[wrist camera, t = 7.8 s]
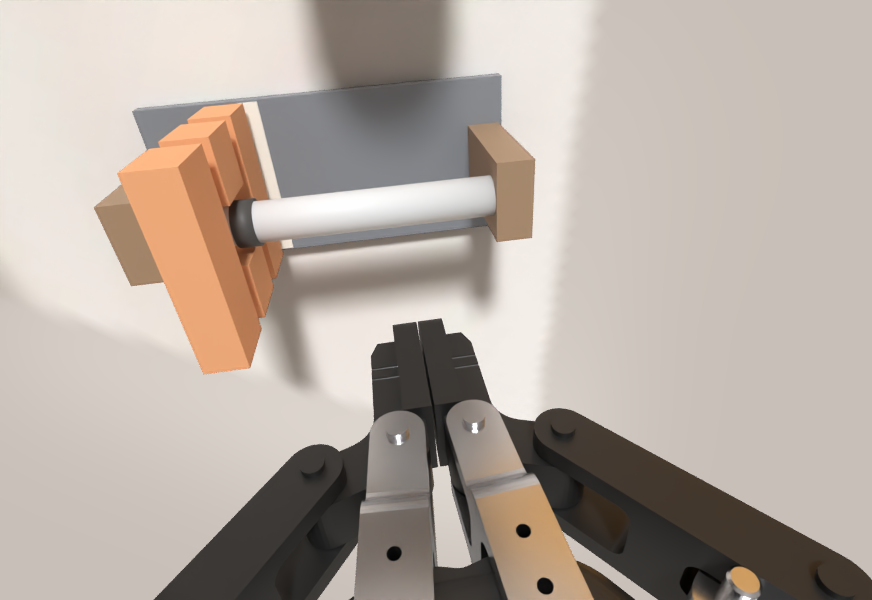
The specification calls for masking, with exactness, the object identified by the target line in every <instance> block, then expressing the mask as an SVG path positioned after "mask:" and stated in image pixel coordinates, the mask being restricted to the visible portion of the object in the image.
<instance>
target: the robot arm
mask: <svg viewBox="0 0 872 600" xmlns="http://www.w3.org/2000/svg"><path fill="white" fill-rule="evenodd" d="M418 328H419V334H418V329H417V324H416V322H412V323H405V324H398V325H393V332H394V341H395V342H389V343H382V344H377V346H376V348H375V350H374V352H373V353H372V355H371V366H372V386H373V407H374V424H373V425H372V428H371V430H370V432H369V434H368V435H367V436H366V437H365V438H364V439H363V440H361V441H360V442H358V443H357V444H355V445H353V446H351V447H349V448H347V449H344V450H342V451H340V452H339V451H338V450H337V449H335V448H333V447H332V446H329V445H324V444H323V445H322V444H318V445H312V446H308V447H306V448H304V449H302V450H300V451H298V452H297V453H295V454H294V455H293V456H292V457H291V458H290V459H289V460H288V461H287V462H286V463H285V464H284V465H283V466H282V467H281V468H280V469H279V471H278V472H277V473H276V474H275V475H274V476H273V477H272V478H271V479H270V480H269V481H268V482H267V483H266V484H265V485H264V486H263V487H262V488H261V489H260V490H259V491H258V492H257V493H256V494H255V495H254V496H253V498H252V499H251V500H250V501H249V502H248V503H247V504H246V505H245V506H244V507H243V508H242V509H241V510H240V511H239V512H238V513H237V514H236V515H235V516H234V517H233V518H232V519H231V521H229V522H228V523H227V524H226V525H225V526H224V527H223V529H222V530H221V531H220V532H219V533H218V534H217V535H216V536H215V537H214V538H213V539H212V540H211V541H210V542H209V543H208V544H207V545H206V546H205V547H204V548H203V549H202V550H201V551H200V552H199V553H198V554H197V555H196V557H195V558H194V559H193V560H192V561H191V562H190V563H189V564H188V565H187V566H186V567H185V568H184V569H183V570H182V571H181V572H180V573H179V574H178V575H177V576H176V577H175V578H174V579H173V581H171V582H170V583H169V584H168V586H167V587H166V588H165V589H164V590H163V591H162V592H161V593H160V594H159V595H158V596H157V597H156V598H155V599H154V600H317V599H318V598H319V596H320V595H321V594H322V592H323V591H324V590H325V588H326V587H327V585H328V584H329V582H330V581H331V580H332V578H333V577H334V576H335V574H336V573H337V571H338V570H339V568H340V567H341V566H342V564H343V563H344V562H345V560H346V558H347V557H348V556H349V555H350V553H351V552H352V550H353V549H354V548H355V546H356V544H357V543H358V548H357V563H356V577H355V591H354V597H352V598H351V599H350V600H635V599H634V598H632V597H631V596H630V595H628V594H627V593H626V592H624V591H623V590H622V589H621V588H620V587H618V586H617V585H616V584H614V583H613V582H612V581H611V580H609V579H608V578H607V577H605V576H604V575H603V574H601V573H599V572H598V571H596V570H595V569H593V568H591V567H590V566H587V565H585V564H583V563H581V562H579V561H576V560H575V558H574V556H573V554H572V551H571V550H570V547H569V545H568V543H567V541H566V539H565V537H564V534H563V532H564V533H566V534H567V535H569V536H570V537H572V538H573V539H574V540H576V541H577V542H578V543H580V544H581V545H583V546H584V547H585V548H587V549H588V550H589V551H591V552H592V553H594V554H595V555H596V556H598V557H599V558H601V559H602V560H603V561H605V562H606V563H608V564H609V565H610V566H612V567H613V568H615V569H616V570H617V571H619V572H620V573H622V574H623V575H625V576H626V577H627V578H629V579H630V580H631V581H633V582H634V583H636V584H637V585H638V586H640V587H641V588H643V589H644V590H645V591H647V592H648V593H650V594H651V595H652V596H654V597H655V598H657V599H658V600H872V580H871V578H870V577H869V576H868V575H867V574H866V573H865V572H864V571H863V570H862V569H861V568H859V567H858V566H857V565H856V564H854V563H853V562H852V561H850V560H849V559H847V558H845V557H844V556H842V555H840V554H838V553H836V552H835V551H832V550H831V549H829V548H827V547H825V546H823V545H821V544H820V543H818V542H816V541H814V540H812V539H810V538H808V537H807V536H805V535H803V534H801V533H799V532H797V531H795V530H794V529H792V528H790V527H788V526H786V525H784V524H783V523H781V522H779V521H777V520H775V519H773V518H771V517H769V516H767V515H766V514H764V513H762V512H760V511H758V510H756V509H755V508H753V507H751V506H749V505H747V504H745V503H744V502H742V501H740V500H738V499H736V498H734V497H733V496H731V495H729V494H727V493H725V492H723V491H721V490H720V489H718V488H716V487H714V486H712V485H710V484H708V483H706V482H705V481H703V480H701V479H699V478H697V477H695V476H694V475H692V474H690V473H688V472H686V471H684V470H682V469H680V468H679V467H676V466H675V465H673V464H671V463H669V462H668V461H666V460H664V459H662V458H660V457H658V456H656V455H655V454H653V453H651V452H649V451H647V450H645V449H643V448H642V447H640V446H638V445H636V444H634V443H632V442H630V441H628V440H627V439H625V438H623V437H621V436H619V435H617V434H616V433H614V432H612V431H610V430H608V429H606V428H604V427H602V426H601V425H599V424H597V423H595V422H593V421H591V420H589V419H588V418H586V417H584V416H582V415H580V414H578V413H576V412H574V411H572V410H568V409H561V408H557V409H550V410H547V411H545V412H543V413H541V414H540V415H539V416H538V417H537V419H536V421H527V420H519V419H513V418H510V417H508V416H505V415H503V414H502V413H500V412H499V411H498V410H497V409H496V408H495V407H494V406H493V405H492V403H491V401H490V398H489V395H488V392H487V389H486V386H485V383H484V380H483V377H482V374H481V371H480V368H479V366H478V362H477V359H476V356H475V352H474V349H473V346H472V343H471V341H470V340H469V339H467V338H466V337H465V336H464V335H463V334H462V333H461V332H460V333H452V334H446V333H445V329H444V325H443V322H442V319H433V320H426V321H419V322H418ZM419 338H420V340H419ZM435 440H436V444H435ZM436 445H437V451H438V457H439V462H440V466H446V465H448V466H449V471H450V476H451V487H452V493H453V497H454V501H455V504H456V508H457V511H458V515H459V518H460V522H461V525H462V529H463V532H464V536H465V539H466V543H467V546H468V550H469V553H470V557H471V562H472V564H471V565H469V566H467V567H464V568H448V567H438V566H437V553H436V537H435V523H434V510H433V509H434V508H433V495H432V491H433V487H434V481H433V472H432V468H435V467H438V464H437V454H436ZM562 531H563V532H562Z"/></svg>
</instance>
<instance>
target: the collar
mask: <svg viewBox="0 0 872 600" xmlns="http://www.w3.org/2000/svg"><path fill="white" fill-rule="evenodd" d="M187 121H188V124H182V125H180V126H178V127H177V128H176V129H174V130H173V131H172V132H170V133H169V134H168V135H166V136H165V137H164V138H163V139H161V140H160V141H159V142H158V144H159V146H160V148H152V149H148V150H147V151H146V152H144V153H143V154H142V155H140V156H139V157H138V158H136V159H135V160H134V161H132V162H131V163H130V164H129V165H127V166H126V167H125V168H123V169H122V170H121V171H119V172H118V173H117V174H118V177H119V179H120V181H121V184H122V186H123V188H124V191H125V193H126V195H127V197H128V200H129V202H130V204H131V207H132V209H133V211H134V214H135V216H136V218H137V221H138V223H139V225H140V228H141V230H142V232H143V235H144V237H145V239H146V242H147V244H148V246H149V249H150V251H151V253H152V256H153V258H154V260H155V263H156V265H157V267H158V270H159V272H160V274H161V277H162V279H163V281H164V284H165V286H166V288H167V291H168V293H169V295H170V297H171V300H172V302H173V304H174V307H175V309H176V311H177V314H178V316H179V318H180V321H181V323H182V325H183V328H184V330H185V332H186V335H187V337H188V339H189V342H190V344H191V346H192V349H193V351H194V353H195V356H196V358H197V360H198V363H199V365H200V367H201V370H202V372H203V374H210V373H217V372H225V371H232V370H240V369H247V368H250V367H251V363H252V360H253V356H254V353H255V349H256V346H257V343H258V339H259V336H260V332H261V329H262V328H261V325H260V322H259V319H258V318H262V317H265V315H266V312H267V308H268V305H269V301H270V298H271V295H272V291H273V288H274V286H273V283H272V279H273V278H276V277H277V274H278V270H279V267H280V264H281V260H282V257H283V252H282V248H281V244H280V241H273V242H265V244H264V245H263V246H257V247H248V248H239V247H238V246H235V245H234V242H233V239H232V236H231V233H230V229H229V226H228V223H227V220H226V217H225V214H224V211H223V208H222V207H225V206H230V205H231V203H232V202H233V200H241V199H250V198H255V199H256V200H257V201H261V200H269V199H268V196H267V192H266V188H265V185H264V181H263V177H262V173H261V170H260V166H259V162H258V158H257V155H256V151H255V147H254V143H253V140H252V136H251V132H250V128H249V125H248V121H247V117H246V113H245V110H244V106H243V103H238V104H228V105H217V106H207V107H203V108H202V109H200V110H199V111H198V112H197V113H195V114H194V115H193V116H191V117H190V118H189V119H187Z"/></svg>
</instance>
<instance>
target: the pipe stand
mask: <svg viewBox="0 0 872 600" xmlns="http://www.w3.org/2000/svg"><path fill="white" fill-rule="evenodd" d="M238 103H243V106H244V110H245V113H246V117H247V121H248V125H249V128H250V132H251V136H252V140H253V143H254V147H255V151H256V155H257V158H258V162H259V166H260V170H261V173H262V177H263V181H264V185H265V188H266V192H267V196H268V199H269V200H261V201H257V200H256V199H255V198H250V199H241V200H233V202H232V203H231V205H230V206H225V207H222V208H223V211H224V214H225V217H226V220H227V223H228V226H229V229H230V233H231V236H232V239H233V242H234V245H235V246H238V247H239V248H248V247H257V246H263V245H264V244H265V242H273V241H280V244H281V248H282V250H284V249H292V248H301V247H309V246H318V245H326V244H335V243H343V242H352V241H360V240H369V239H377V238H386V237H394V236H402V235H411V234H419V233H428V232H436V231H445V230H453V229H462V228H470V227H479V226H487V225H488V226H489V228H490V230H491V232H492V234H493V235H494V237H495V239H496V241H497V242H501V241H509V240H518V239H526V238H532V224H533V199H534V175H535V159H534V158H533V157H532V156H531V155H530V154H529V153H528V152H527V151H526V150H525V149H524V148H523V147H522V146H521V145H520V144H519V143H518V142H517V141H516V140H515V139H514V138H513V137H512V136H511V135H510V134H509V133H508V132H507V131H506V130H505V129H504V128H503V127H502V126H501V75H500V74H488V75H478V76H467V77H457V78H447V79H436V80H426V81H416V82H405V83H395V84H385V85H374V86H364V87H354V88H343V89H333V90H323V91H312V92H302V93H291V94H281V95H271V96H260V97H250V98H240V99H229V100H219V101H209V102H198V103H188V104H178V105H167V106H157V107H146V108H138V109H136V110H134V111H132V112H133V115H134V117H135V120H136V123H137V125H138V128H139V130H140V133H141V136H142V138H143V141H144V143H145V146H146V148H147V150H148V149H152V148H160V146H159V144H158V142H159V141H160V140H161V139H163V138H164V137H165V136H166V135H168V134H169V133H170V132H172V131H173V130H174V129H176V128H177V127H178V126H180V125H182V124H188V121H187V119H189V118H190V117H191V116H193V115H194V114H195V113H197V112H198V111H199V110H200V109H202V108H203V107H207V106H217V105H228V104H238ZM94 209H95V211H96V213H97V215H98V217H99V219H100V222H101V224H102V226H103V228H104V230H105V232H106V234H107V236H108V238H109V241H110V243H111V245H112V247H113V249H114V251H115V253H116V255H117V257H118V259H119V262H120V264H121V266H122V268H123V270H124V272H125V274H126V276H127V278H128V281H129V283H130V285H131V286H137V285H145V284H153V283H161V282H164V281H163V279H162V277H161V274H160V272H159V270H158V267H157V265H156V263H155V260H154V258H153V256H152V253H151V251H150V249H149V246H148V244H147V242H146V239H145V237H144V235H143V232H142V230H141V228H140V225H139V223H138V221H137V218H136V216H135V214H134V211H133V209H132V207H131V204H130V202H129V200H128V197H127V195H126V193H125V191H124V188H123V186H122V185H120V186H119V187H118V188H117V189H116V190H114V191H113V192H112V193H111V194H110V195H108V196H107V197H106V198H105V199H103V200H102V201H101V202H100V203H99V204H97V205H96V206H95V207H94Z"/></svg>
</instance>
